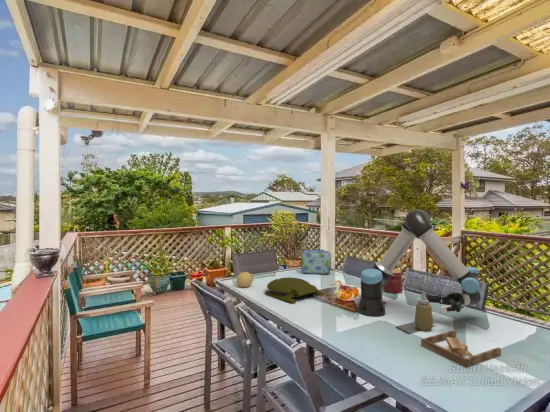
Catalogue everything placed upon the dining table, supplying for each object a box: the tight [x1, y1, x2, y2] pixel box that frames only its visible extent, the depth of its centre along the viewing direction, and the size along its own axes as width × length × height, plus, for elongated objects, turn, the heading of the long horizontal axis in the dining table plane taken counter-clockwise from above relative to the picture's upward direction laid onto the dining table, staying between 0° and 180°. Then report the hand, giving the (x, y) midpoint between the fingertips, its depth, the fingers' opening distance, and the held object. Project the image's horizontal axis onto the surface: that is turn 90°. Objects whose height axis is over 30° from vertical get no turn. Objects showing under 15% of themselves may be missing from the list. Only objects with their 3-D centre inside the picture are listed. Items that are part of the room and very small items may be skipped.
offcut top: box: [446, 337, 465, 354], centre depth 130 cm, size 4×10×2 cm, turn 164°
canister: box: [382, 266, 404, 294], centre depth 223 cm, size 13×13×18 cm
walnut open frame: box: [420, 329, 502, 368], centre depth 132 cm, size 22×20×4 cm
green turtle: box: [264, 276, 325, 305], centre depth 219 cm, size 35×31×10 cm
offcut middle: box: [443, 343, 469, 355], centre depth 131 cm, size 5×11×2 cm, turn 125°
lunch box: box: [300, 249, 332, 275], centre depth 278 cm, size 26×11×21 cm, turn 81°
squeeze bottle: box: [414, 292, 434, 332], centre depth 154 cm, size 8×8×18 cm
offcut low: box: [459, 350, 474, 358], centre depth 130 cm, size 5×12×2 cm, turn 78°
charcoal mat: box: [395, 321, 437, 335], centre depth 154 cm, size 18×18×1 cm
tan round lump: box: [236, 271, 254, 288], centre depth 238 cm, size 11×12×11 cm
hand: (428, 305), depth 155 cm, fingers open, 13 cm apart
